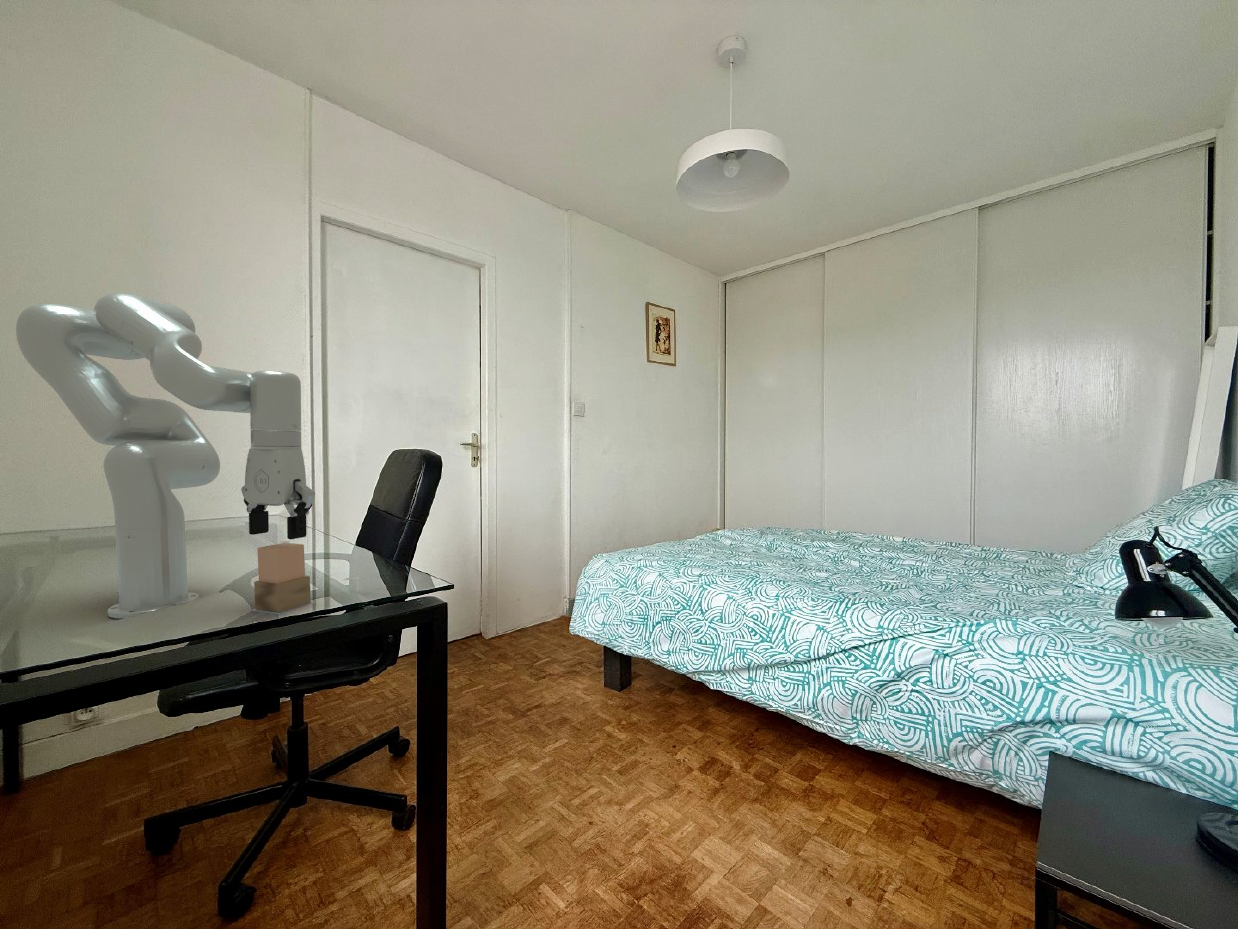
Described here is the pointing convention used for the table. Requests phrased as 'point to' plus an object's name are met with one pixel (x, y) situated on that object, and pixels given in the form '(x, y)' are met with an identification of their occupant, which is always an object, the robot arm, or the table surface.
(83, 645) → the table surface
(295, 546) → the terracotta block
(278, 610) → the walnut block
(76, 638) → the table surface
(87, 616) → the table surface
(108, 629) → the table surface
